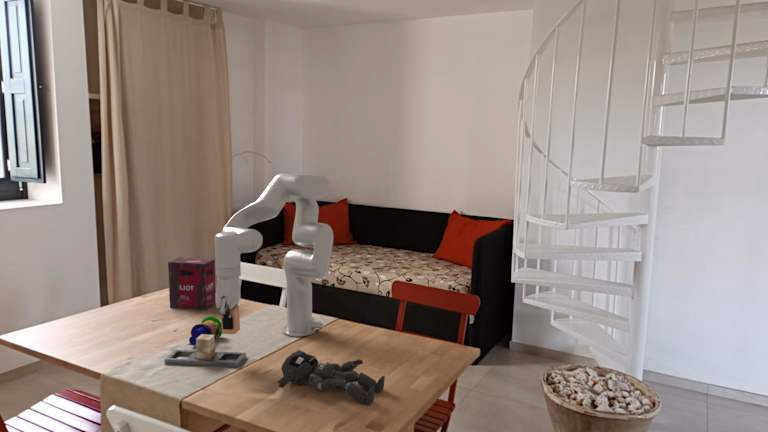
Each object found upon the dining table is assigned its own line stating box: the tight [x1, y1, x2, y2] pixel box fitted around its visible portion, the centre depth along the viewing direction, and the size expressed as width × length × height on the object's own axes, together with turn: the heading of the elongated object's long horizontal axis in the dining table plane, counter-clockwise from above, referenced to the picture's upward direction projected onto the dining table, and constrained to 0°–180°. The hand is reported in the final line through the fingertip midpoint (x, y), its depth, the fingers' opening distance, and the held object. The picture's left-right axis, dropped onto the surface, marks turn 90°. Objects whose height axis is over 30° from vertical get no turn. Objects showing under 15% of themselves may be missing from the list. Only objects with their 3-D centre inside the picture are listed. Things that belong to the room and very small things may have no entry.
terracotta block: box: [220, 305, 241, 335], centre depth 177 cm, size 4×4×8 cm
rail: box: [164, 349, 247, 368], centre depth 179 cm, size 24×8×3 cm, turn 86°
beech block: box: [195, 334, 216, 360], centre depth 178 cm, size 4×4×8 cm
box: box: [167, 257, 216, 311], centre depth 236 cm, size 16×9×20 cm, turn 81°
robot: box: [277, 349, 386, 407], centre depth 163 cm, size 17×10×30 cm
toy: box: [187, 316, 223, 346], centre depth 196 cm, size 12×9×15 cm
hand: (230, 325), depth 177 cm, fingers closed on terracotta block, 4 cm apart
